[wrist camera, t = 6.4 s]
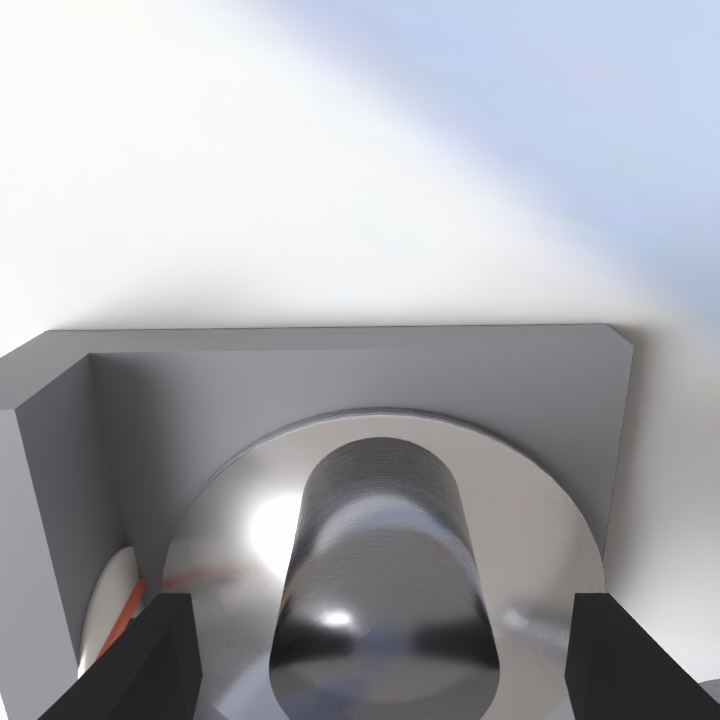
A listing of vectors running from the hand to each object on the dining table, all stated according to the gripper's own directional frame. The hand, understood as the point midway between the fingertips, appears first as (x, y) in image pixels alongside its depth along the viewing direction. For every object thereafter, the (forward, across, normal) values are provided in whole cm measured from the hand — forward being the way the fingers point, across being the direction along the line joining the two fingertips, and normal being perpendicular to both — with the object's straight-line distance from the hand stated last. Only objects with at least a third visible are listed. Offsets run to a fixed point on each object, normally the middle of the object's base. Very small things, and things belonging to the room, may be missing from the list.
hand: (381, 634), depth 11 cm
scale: (+6, +2, +3) cm, 7 cm away
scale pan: (+5, 0, +3) cm, 6 cm away
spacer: (+4, 0, 0) cm, 4 cm away
